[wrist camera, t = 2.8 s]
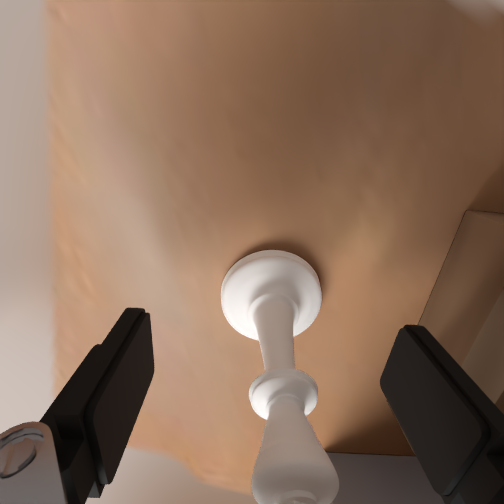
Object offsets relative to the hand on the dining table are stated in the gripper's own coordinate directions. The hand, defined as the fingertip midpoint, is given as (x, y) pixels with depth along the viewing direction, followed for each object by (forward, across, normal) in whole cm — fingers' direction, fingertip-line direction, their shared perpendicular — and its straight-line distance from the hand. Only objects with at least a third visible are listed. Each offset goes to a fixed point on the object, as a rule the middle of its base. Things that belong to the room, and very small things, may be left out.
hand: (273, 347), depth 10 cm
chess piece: (+4, 0, 0) cm, 4 cm away
